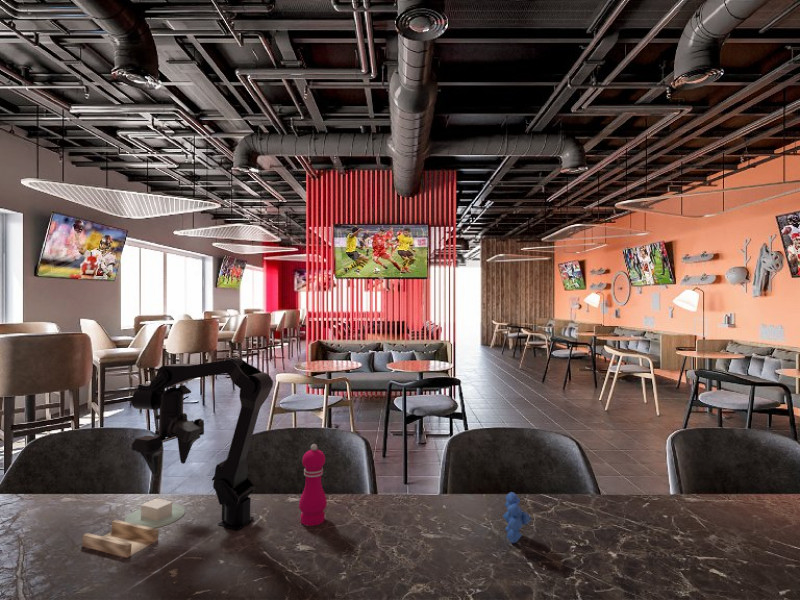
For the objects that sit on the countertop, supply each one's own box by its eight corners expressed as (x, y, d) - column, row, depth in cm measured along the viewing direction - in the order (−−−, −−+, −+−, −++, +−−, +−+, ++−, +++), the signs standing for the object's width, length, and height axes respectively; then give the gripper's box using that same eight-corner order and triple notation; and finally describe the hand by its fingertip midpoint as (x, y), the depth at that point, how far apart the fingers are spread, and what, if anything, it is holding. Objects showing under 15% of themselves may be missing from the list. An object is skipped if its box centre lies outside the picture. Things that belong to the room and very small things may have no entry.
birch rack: (158, 541, 101) (158, 529, 102) (126, 559, 94) (127, 545, 94) (115, 531, 106) (115, 519, 106) (82, 547, 98) (82, 534, 99)
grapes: (535, 557, 96) (535, 503, 97) (504, 554, 97) (504, 501, 98) (528, 532, 108) (527, 483, 108) (500, 529, 109) (500, 482, 109)
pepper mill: (320, 528, 109) (321, 449, 110) (293, 525, 110) (295, 447, 111) (330, 515, 116) (331, 441, 117) (305, 513, 117) (307, 439, 118)
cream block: (171, 513, 114) (172, 502, 115) (156, 520, 110) (157, 508, 110) (156, 509, 117) (156, 498, 117) (140, 516, 113) (141, 504, 113)
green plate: (196, 510, 118) (196, 507, 118) (152, 534, 105) (152, 531, 105) (158, 503, 122) (158, 500, 122) (111, 525, 109) (111, 522, 109)
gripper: (165, 420, 105) (162, 485, 104) (219, 406, 122) (218, 461, 122) (131, 416, 108) (129, 479, 108) (189, 403, 126) (187, 457, 125)
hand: (169, 468), depth 115 cm, fingers open, 9 cm apart
